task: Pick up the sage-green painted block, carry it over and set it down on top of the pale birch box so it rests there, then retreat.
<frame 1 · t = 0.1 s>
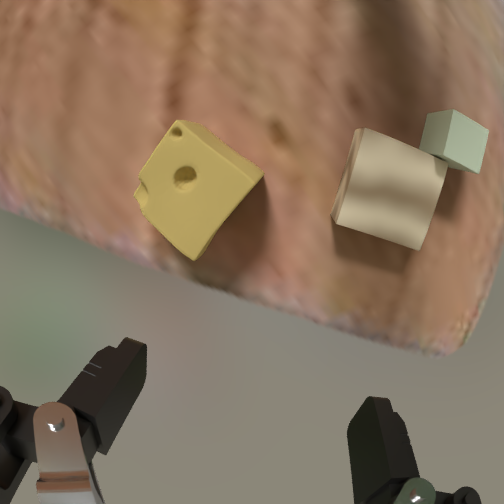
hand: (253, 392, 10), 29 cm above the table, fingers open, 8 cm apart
birch box: (383, 185, 35), on the table
cheese: (210, 179, 37), on the table
block: (439, 141, 31), on the table
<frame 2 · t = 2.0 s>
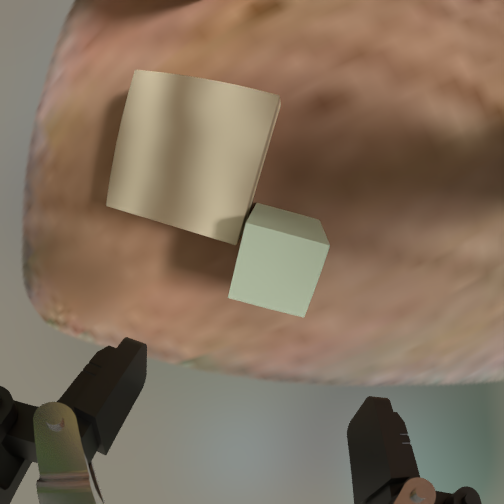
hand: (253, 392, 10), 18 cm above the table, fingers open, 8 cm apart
birch box: (200, 150, 25), on the table
block: (279, 240, 26), on the table
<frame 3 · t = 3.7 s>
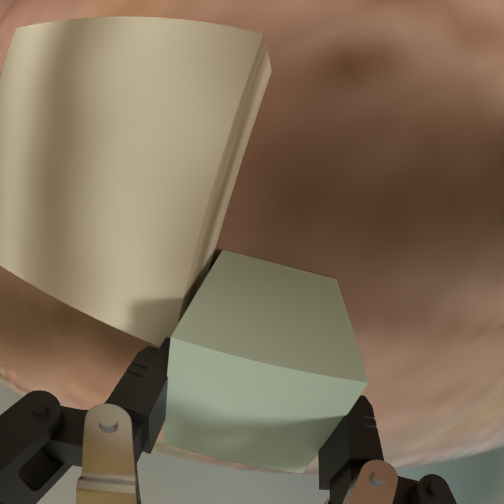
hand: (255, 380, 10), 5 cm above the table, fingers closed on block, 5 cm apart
birch box: (128, 156, 13), on the table
block: (265, 313, 15), on the table, touching gripper
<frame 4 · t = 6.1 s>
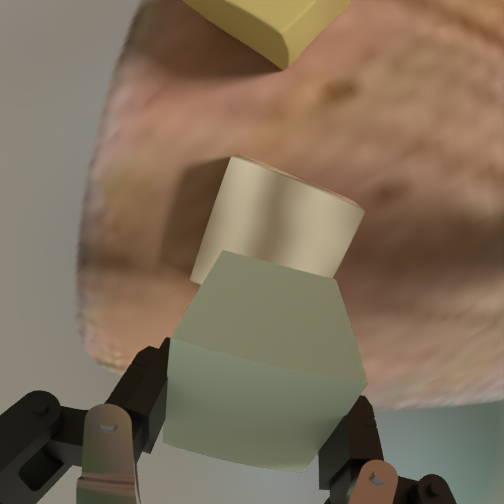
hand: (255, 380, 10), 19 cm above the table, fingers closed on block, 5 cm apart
birch box: (275, 230, 29), on the table
cheese: (275, 12, 21), on the table
block: (265, 314, 15), point 14 cm above the table, touching gripper
when the fingers open (11 cm above the table, at t = 8.1 s): block drops 1 cm, resting on birch box.
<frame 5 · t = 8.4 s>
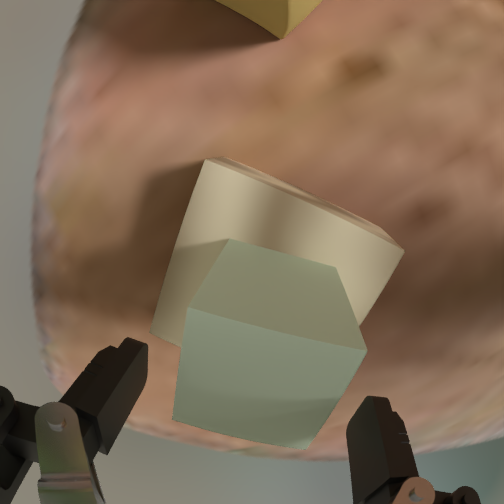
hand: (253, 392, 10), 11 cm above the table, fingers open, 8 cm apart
birch box: (271, 264, 21), on the table, touching block
block: (269, 300, 16), point 5 cm above the table, touching birch box
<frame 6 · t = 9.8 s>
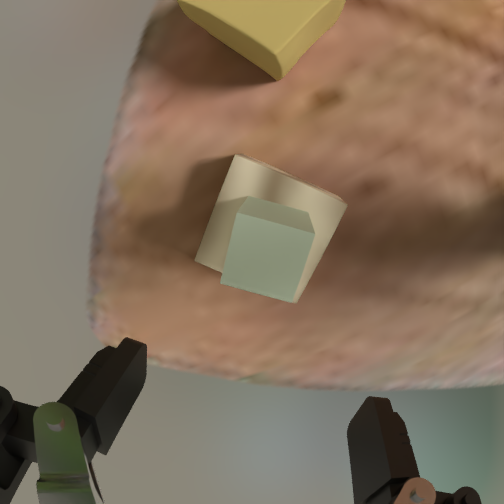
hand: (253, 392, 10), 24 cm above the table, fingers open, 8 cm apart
birch box: (270, 220, 33), on the table, touching block
cheese: (271, 27, 25), on the table
block: (270, 232, 28), point 5 cm above the table, touching birch box
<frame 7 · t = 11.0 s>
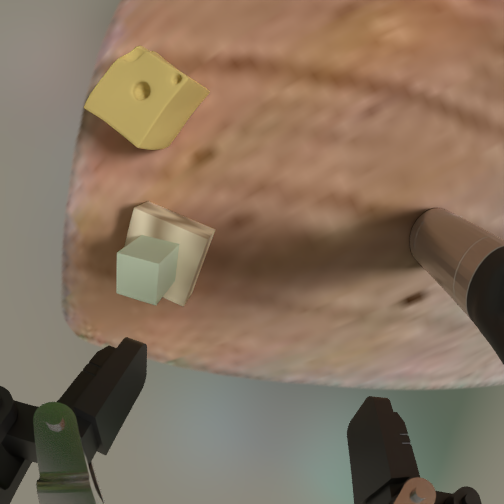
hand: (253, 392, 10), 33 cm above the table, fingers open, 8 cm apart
birch box: (171, 247, 45), on the table
cheese: (165, 101, 37), on the table
block: (158, 258, 40), point 5 cm above the table
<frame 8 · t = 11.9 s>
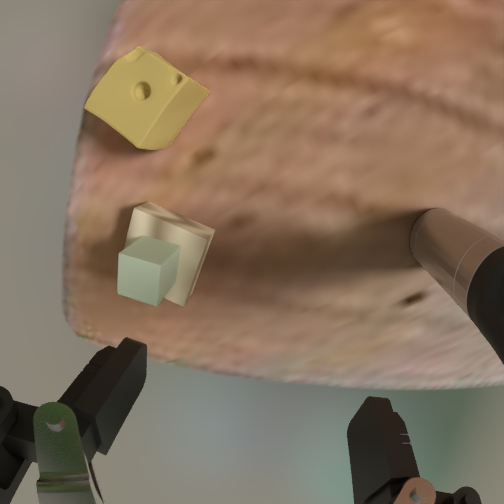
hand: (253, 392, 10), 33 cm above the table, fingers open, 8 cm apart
birch box: (171, 247, 45), on the table
cheese: (165, 102, 38), on the table
block: (159, 259, 40), point 5 cm above the table
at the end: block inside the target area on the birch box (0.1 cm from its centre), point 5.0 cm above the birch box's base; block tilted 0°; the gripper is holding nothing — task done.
